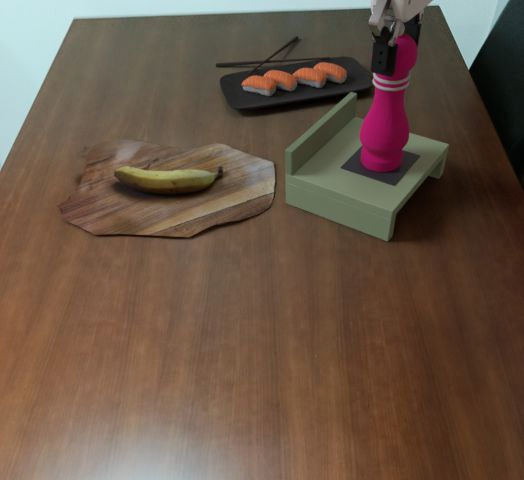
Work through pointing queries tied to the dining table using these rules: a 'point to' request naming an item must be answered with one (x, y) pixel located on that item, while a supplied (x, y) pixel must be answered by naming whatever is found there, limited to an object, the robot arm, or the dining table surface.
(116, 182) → the cutting board
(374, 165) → the pepper mill
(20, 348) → the dining table surface
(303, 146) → the shelf
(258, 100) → the sushi plate
